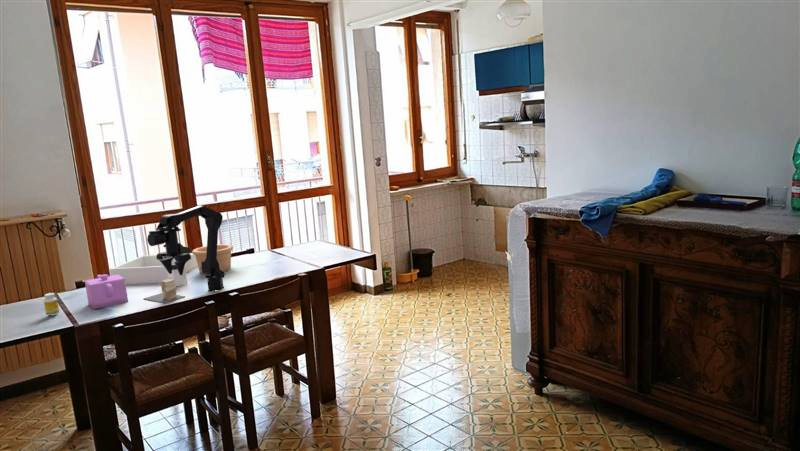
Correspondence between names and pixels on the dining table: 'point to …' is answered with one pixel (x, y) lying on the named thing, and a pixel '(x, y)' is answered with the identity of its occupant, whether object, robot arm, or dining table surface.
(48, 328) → the dining table surface
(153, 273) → the tub
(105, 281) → the pink knobbed box
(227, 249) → the pottery
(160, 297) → the mat
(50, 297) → the supplement bottle
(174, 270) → the white upright block
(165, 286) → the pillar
